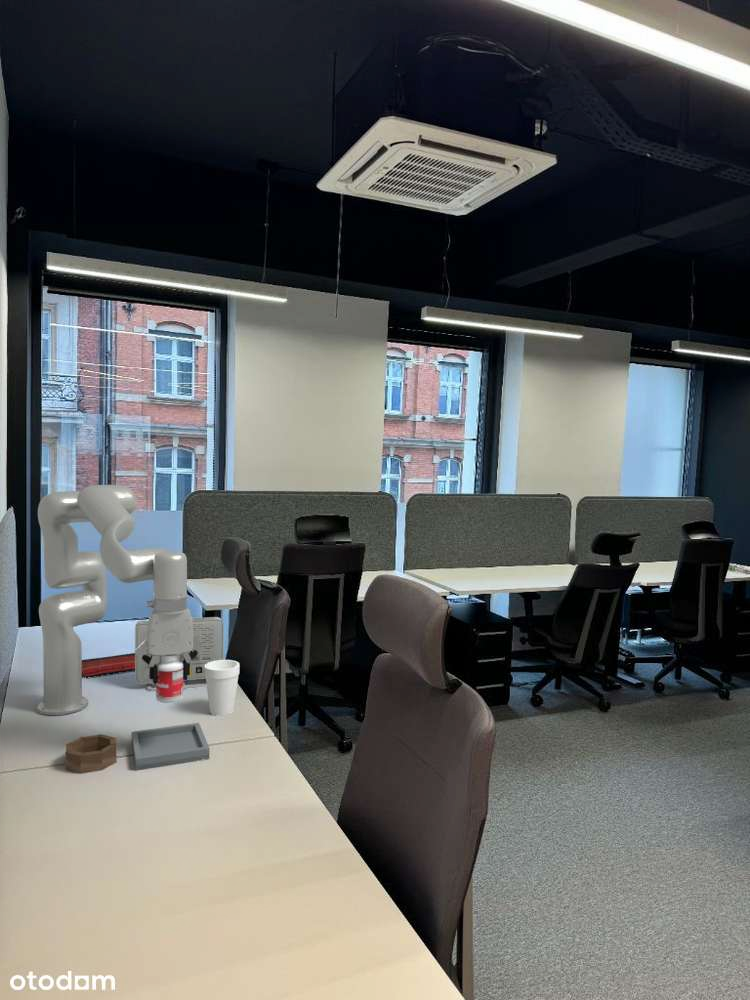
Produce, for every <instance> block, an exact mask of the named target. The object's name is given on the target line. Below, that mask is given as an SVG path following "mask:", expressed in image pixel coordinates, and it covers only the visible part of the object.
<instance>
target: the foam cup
mask: <svg viewBox="0 0 750 1000" xmlns="http://www.w3.org/2000/svg"><path fill="white" fill-rule="evenodd" d="M240 667H241V666H240V662H238V661H236V660H232V659H223V660H217V661H212V662H208V663H207V664H205V677H206V680H205V681H206V685H207V687H206V690H207V691H206V692H207V699H208V700H207V701H208V706H209V712H210V713H211V714H210V713H209V714H210V715H212V714H214V715H213V716H215V715H224V716H227V715H226V714H229V713H231V714H232V713H234V709H235V703H236V695H237V690H238V688H237V687H238V680H239V675H240ZM229 715H230V714H229Z"/></svg>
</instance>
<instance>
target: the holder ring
mask: <svg viewBox="0 0 750 1000" xmlns="http://www.w3.org/2000/svg"><path fill="white" fill-rule="evenodd" d="M117 746H118V745H117V739H116V736H111V735H105V734H95V735H94V734H93V735H92V734H91V735H86V736H80V737H77V738H76V739H73V740H72V741H70V742H68V743H66V745H65V771H70V772H74V773H78V774H85V773H93V772H98V771H103V770H105V769H107V768H108V767H110V766H112V765H114V764H116V763H117V752H118V751H117Z"/></svg>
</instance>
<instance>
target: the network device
mask: <svg viewBox="0 0 750 1000" xmlns="http://www.w3.org/2000/svg"><path fill="white" fill-rule="evenodd" d="M148 622H149V620H139V621H137V622H136V624H135V628H134V650H135V649H136V648H137V647H138V646H139V645H140V644H141V643H142V642H143V641H144V640H145V639H146V638H147V632H148ZM192 626H193V635H194V636H195V637H196V638H197V639H198V640H199V641H201V642H202V643H203V645H204V647H203V649H202V650H201V651H200V652H199V653H198V654H197V655H196V656H195V657H194V659H193V660H192V661H191V663H190V675H187V680H191V681H197V680H196V679H206V677H205V664H207V663H208V662H212V661H217V660H224V622H223V620H222V618H220V617H218V616H212V617H211V616H209V617H192ZM195 647H196V645H195V644H194V643H193V649H194V648H195ZM143 652H144V653H145V654H147V655H148V656H149V657H150V656H151V655H150V654H149V652H148V648H147V647H146V648H145V649H144V650H143ZM134 653H135V652H134ZM189 653H190V652H189ZM180 656H181V657H180V659H179V660H180V661H182V662H183V660H184V656H183V654H180ZM160 661H161V660H160V658H159V656H158V658H157V661H156V666H157V664H158V663H159V662H160ZM134 680H135V682H136V684H138V685H143V684H146V690H147V691H148V690H149V691H148V692H151V691H156V688H152V685H153V684H152V683H153V679H150V666H149V665H148V664H147V663H146V662H145V661H143V660H142V659H141V658H140V657H139V656H138V655H137V654H136V653H135V671H134ZM185 682H186V681H185V680H183V690H188V689H187V688H195V689H197V688H196V687H205V686H207V685H206V684H196V685H186V683H185ZM151 684H152V685H151ZM205 688H206V687H205Z"/></svg>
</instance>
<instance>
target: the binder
mask: <svg viewBox="0 0 750 1000" xmlns="http://www.w3.org/2000/svg"><path fill="white" fill-rule="evenodd" d="M132 670H135V652H133V653H124V654H117V655H110V656H104V657H103V656H102V657H95V658H88V659H87V658H85V659H82V678H83V677H86V678H85V679H89V678H88V677H93V678H95V677H94V676H99V677H102V676H101V675H105V676H108V675H107V674H111V675H114V674H113V673H118V674H120V673H119V672H124V673H127V672H126V671H131V672H133V671H132Z"/></svg>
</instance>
